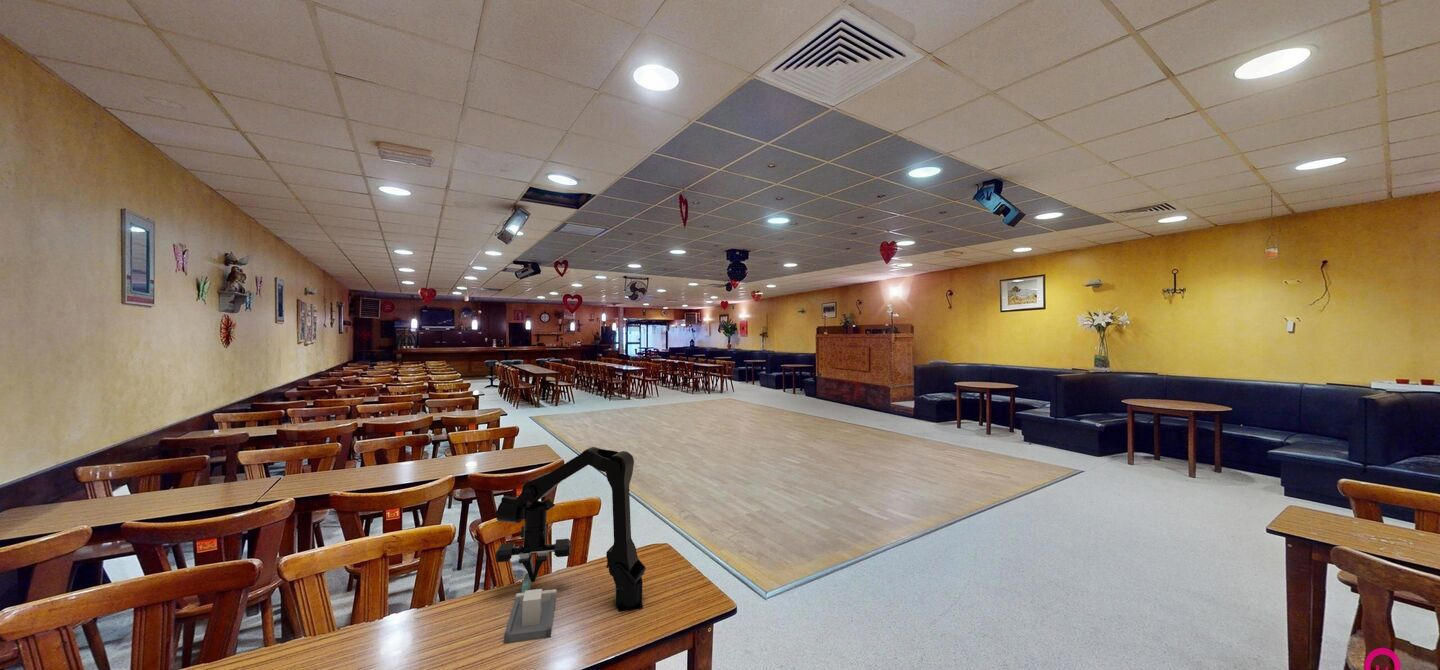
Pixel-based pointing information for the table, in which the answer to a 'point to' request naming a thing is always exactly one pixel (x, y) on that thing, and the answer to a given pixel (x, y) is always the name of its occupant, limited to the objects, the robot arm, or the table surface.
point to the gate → (526, 586)
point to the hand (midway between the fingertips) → (533, 581)
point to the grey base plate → (531, 632)
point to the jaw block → (532, 607)
